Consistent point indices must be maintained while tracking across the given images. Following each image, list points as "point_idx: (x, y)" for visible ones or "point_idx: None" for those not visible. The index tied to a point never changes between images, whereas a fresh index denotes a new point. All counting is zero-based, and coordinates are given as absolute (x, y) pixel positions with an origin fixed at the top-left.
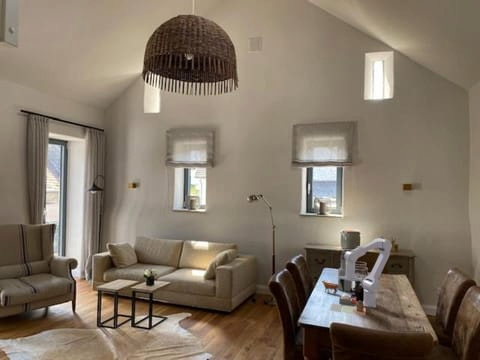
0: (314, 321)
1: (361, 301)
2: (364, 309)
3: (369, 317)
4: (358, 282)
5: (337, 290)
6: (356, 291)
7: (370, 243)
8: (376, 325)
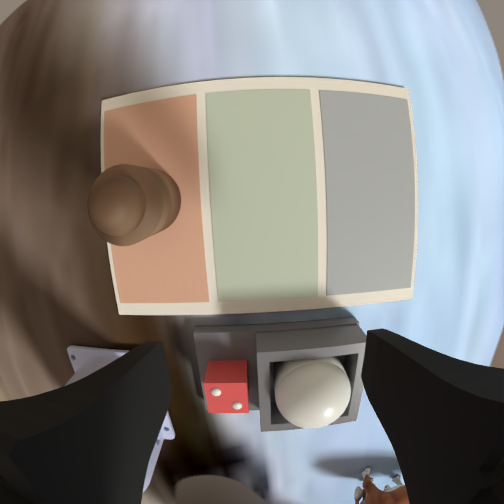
0: None
1: (92, 202)
2: (120, 260)
3: (81, 97)
4: (2, 478)
5: (355, 495)
6: (132, 352)
7: None
8: (65, 3)
